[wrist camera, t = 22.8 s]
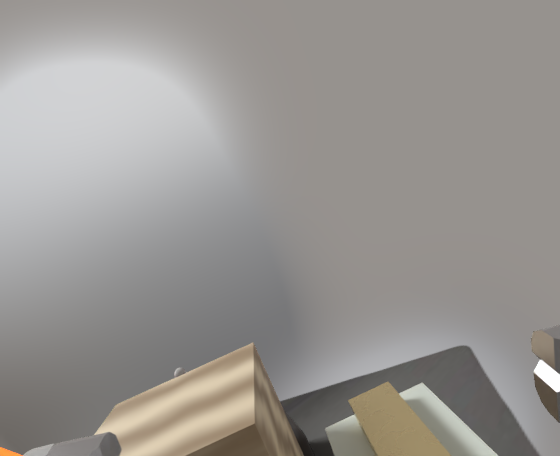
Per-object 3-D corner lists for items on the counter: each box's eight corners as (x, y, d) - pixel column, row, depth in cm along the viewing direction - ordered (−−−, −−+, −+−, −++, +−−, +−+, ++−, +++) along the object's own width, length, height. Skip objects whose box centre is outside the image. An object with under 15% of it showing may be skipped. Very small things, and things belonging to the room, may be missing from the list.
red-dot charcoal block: (269, 458, 69) (246, 406, 69) (294, 443, 71) (271, 392, 70) (303, 515, 54) (273, 449, 53) (333, 494, 55) (304, 429, 55)
